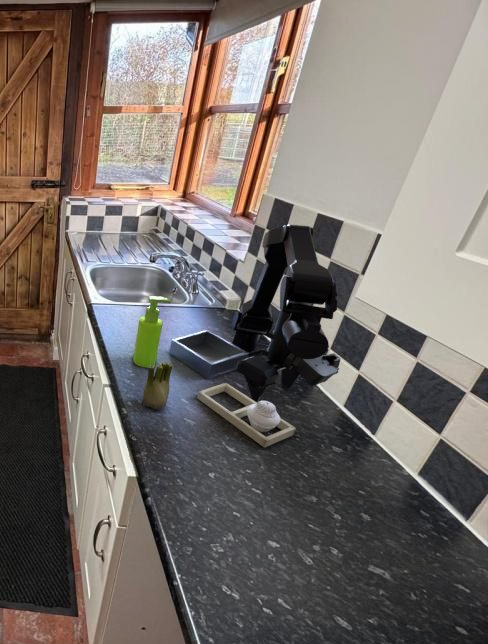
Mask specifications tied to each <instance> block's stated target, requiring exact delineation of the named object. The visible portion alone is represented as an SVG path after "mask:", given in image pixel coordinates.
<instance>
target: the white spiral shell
mask: <svg viewBox="0 0 488 644" xmlns="http://www.w3.org/2000/svg"><path fill="white" fill-rule="evenodd" d="M247 414H248V415H247V418H248V421H249V424H250V426H251V427H253V428H254V429H255V430H257V431H258V432H260V433H267V432H269V431H271V430H273V429H274V428H276V427H277V426H276V425H278V424H279V422H280V418H281V416H280V415H279V413H278V411H277V407H276V405H274V403H272V402H271V401H268V400H259V401H258V402H257V404H253V405H251V406H249V407H248V409H247Z"/></svg>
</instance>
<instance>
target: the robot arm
mask: <svg viewBox="0 0 488 644" xmlns="http://www.w3.org/2000/svg"><path fill="white" fill-rule="evenodd" d="M313 236H314V228H313V227H310V225H301V224H300V225H299V224H287V225H286V224H285V225H283V226H281V227H277V228H271V229H268V231H267V232H265V234H264V236H263V239H262V245H261V246H262V249H263V257H264V260H265V263H264V264H263V265H264V266H263V268H262V269H261V273H260V275H259V277H258V278H259V279H258V281H257V284H256V285H255V289H254V292H253V294H252V297H251V299H249V300H247V301H246V302H244V303H242V304H241V306H240V309H239V310H237V311H236V312H235V314H234V315H233V317H232V321H231V326H232V331H234V332H235V333H234V335H233V339H232V341H229V342H230V343H232V344H234V345H235V346H237V347H239V348H241V349H243V350H245V351H246V352H248V353H249V355H253V354H256V353H259V352H261V355H263V356H265V357H266V358H267V361H265V360H262V359H261V358H259V357H257V356H256V355H254V356H250V357H248V358H247V359H244V360H241V361H238V363H237V367H236V370H235V371H236V372H237V373H239V374H240V375H242V376H243V378H244V379H245V383H246V385H247V387H248V391H249V394H250V397H251V398H250V399H252V400H253V401H255V402H257V403H258V402H259V401H260V399H261V398H262V397H263V394H264V392H265V390H266V389H267V388H268V387H270V386H272V385H276V384H277V382H276V381H277V380H278V378H279V375H281V378H280V381H281V382H280V384H281V389H282V390H283V391H286V392H287V391H289V390H290V389H291V388H292V387H293V385H295V383H296V382H297V381H298V380H299V378H301V377H302V379H304V382H306V383H307V384H308V385H310V386H313V387H315V386H318V385H319V384H322V383H325V382H326V381H328V380H329V379H330V378H332V377H333V376H335V375H338V374H339V370H340V368H339V367H340V363H341V357H340V356H338V355H337V354H336V353H335V352H334V353H327V352H328V350H329V348H330V344H329V339H328V338H327V336H326V334H325V332H324V331H323V329H322V324H321V322H322V319H328V320H333V319H334V313H335V312H337V311H338V292H339V289H338V287H337V283H336V281H335V280H334V277H333V275H332V273H331V271H330V270H329V269H328V268H326V267H325V266H323V265H321V264H320V263H319V261H318V255H317V252H316V249H315V243H314V239H313ZM286 270H287V271H286ZM285 272H286V274H285ZM284 274H285V275H284ZM278 288H279V313H278V316H277V320H276V323H275V321H274V316H273V313H272V307H271V305H272V302H273V300H274V297H275V295H276V293H277V291H278ZM316 305H319V306H316ZM323 305H324V307H322V306H323ZM273 325H274V326H273ZM272 327H274V329H273V330H272ZM261 336H264V337H266V338H268V339H270V340H269V344H268V347H266V348H263V349H262V348H261V347H259V346H258V344H259V340H260V338H261ZM326 353H327V354H326ZM249 355H248V356H249ZM279 371H281V373H280V374H279Z"/></svg>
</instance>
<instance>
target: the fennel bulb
mask: <svg viewBox="0 0 488 644" xmlns="http://www.w3.org/2000/svg"><path fill="white" fill-rule="evenodd" d="M173 367H174V364H173V363H171V362H164V361H162V362H161V364H158V365H156V367H155V365H154V366H153V365H150V366H149V368H148V370H147V371H148V372H147V378H146V381H145V385H144V389H143V393H142V394H143V395H142V401H143V404H144V405H145V406H146V407H148V408H151V409H153V410H157V411H158V410H163V409H164V408H166V406H167V402H168V399H169V395H170V379H171V374H172V371H173ZM155 368H156V369H155Z"/></svg>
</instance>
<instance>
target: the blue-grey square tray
mask: <svg viewBox="0 0 488 644" xmlns="http://www.w3.org/2000/svg"><path fill="white" fill-rule="evenodd" d="M230 342H231V341H228V340H227V339H224V338H222V337H221V336H220V335H218V334H215V333H214V332H212V331H210V330H209V329H205V330H202V331H198V332H194V333H191V334H188V335H183V336H181V337H176V338H172V339H171V342H170V345H169V346H170V347H169V352H168V353H169V354H170V355H171V356H172V357H174V358H176V359H177V360H178V361H180V362H182V363H183V364H185V365H186V366H187V367H189V368H191V369H192V370H193V371H195V372H196V373H198V374H200V375H201V376H202V377H204V378H206V379H207V380H210V379H213V378H216V377H219V376H222V375H224V374H225V375H226V374H228V373H230V372H233V371H236V367H237V363H238V361H241V360H244V359H247V358H249V353H248V352H246V351H245V350H243V349H241V348H239V347H237V346H235V345H234V344H232V343H230Z"/></svg>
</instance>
